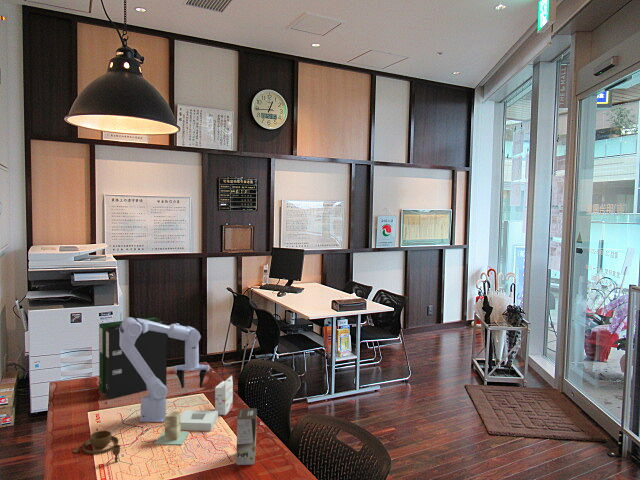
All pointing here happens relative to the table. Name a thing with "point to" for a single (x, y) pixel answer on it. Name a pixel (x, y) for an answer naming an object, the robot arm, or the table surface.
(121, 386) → the binder
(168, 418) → the maple peg
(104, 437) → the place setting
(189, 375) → the table surface
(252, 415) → the coffee box
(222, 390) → the ink cartridge box
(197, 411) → the pocket holder
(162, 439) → the rubber mat
